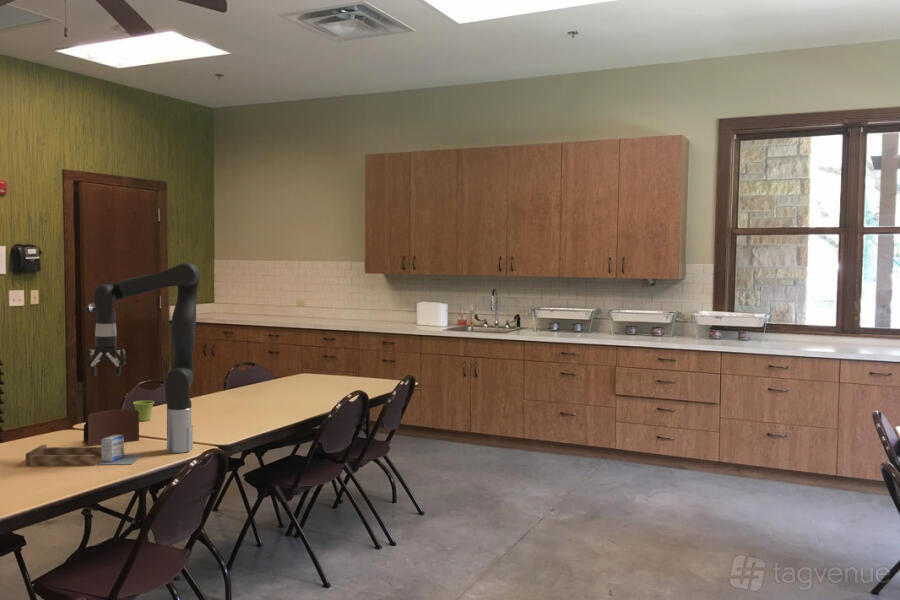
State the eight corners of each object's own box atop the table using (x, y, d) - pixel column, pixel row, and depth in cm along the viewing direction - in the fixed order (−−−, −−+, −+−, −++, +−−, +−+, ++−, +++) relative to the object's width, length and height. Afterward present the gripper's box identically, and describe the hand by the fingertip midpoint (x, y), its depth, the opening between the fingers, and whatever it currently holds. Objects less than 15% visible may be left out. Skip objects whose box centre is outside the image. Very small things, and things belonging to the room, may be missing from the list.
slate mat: (142, 455, 287) (142, 454, 287) (131, 464, 273) (131, 463, 273) (110, 455, 286) (110, 454, 286) (97, 465, 272) (97, 464, 272)
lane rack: (107, 455, 286) (107, 444, 285) (94, 465, 272) (94, 453, 271) (42, 456, 283) (42, 444, 283) (25, 465, 269) (25, 453, 269)
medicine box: (111, 462, 275) (111, 439, 275) (100, 461, 276) (100, 438, 275) (124, 457, 283) (124, 434, 282) (113, 456, 283) (113, 434, 283)
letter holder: (139, 441, 311) (139, 408, 310) (87, 447, 299) (87, 412, 299) (133, 436, 319) (133, 404, 318) (83, 442, 307) (83, 408, 307)
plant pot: (150, 417, 359) (150, 399, 359) (157, 420, 352) (157, 402, 351) (130, 419, 353) (130, 401, 353) (136, 423, 346) (136, 404, 345)
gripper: (127, 334, 295) (127, 374, 296) (90, 333, 293) (90, 374, 294) (121, 335, 287) (121, 377, 288) (83, 335, 286) (83, 377, 286)
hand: (106, 375), depth 291 cm, fingers open, 8 cm apart
